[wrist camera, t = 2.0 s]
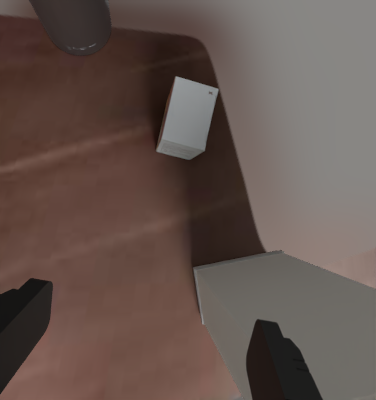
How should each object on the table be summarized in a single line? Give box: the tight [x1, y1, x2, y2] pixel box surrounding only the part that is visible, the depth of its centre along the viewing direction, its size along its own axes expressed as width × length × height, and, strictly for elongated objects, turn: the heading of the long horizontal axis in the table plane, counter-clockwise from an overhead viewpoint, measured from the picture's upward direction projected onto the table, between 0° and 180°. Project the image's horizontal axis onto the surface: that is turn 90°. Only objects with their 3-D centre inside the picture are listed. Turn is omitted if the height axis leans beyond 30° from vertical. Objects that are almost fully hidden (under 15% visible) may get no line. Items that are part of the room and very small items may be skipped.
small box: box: [156, 76, 219, 160], centre depth 41 cm, size 8×6×10 cm
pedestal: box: [193, 250, 376, 400], centre depth 32 cm, size 14×8×32 cm, turn 99°
